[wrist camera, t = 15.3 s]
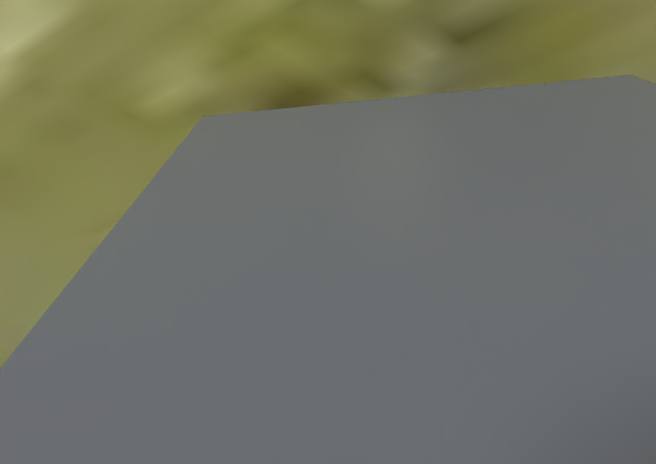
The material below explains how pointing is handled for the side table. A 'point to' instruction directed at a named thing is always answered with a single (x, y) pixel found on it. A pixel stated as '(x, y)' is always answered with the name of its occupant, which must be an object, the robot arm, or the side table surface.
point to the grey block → (367, 292)
